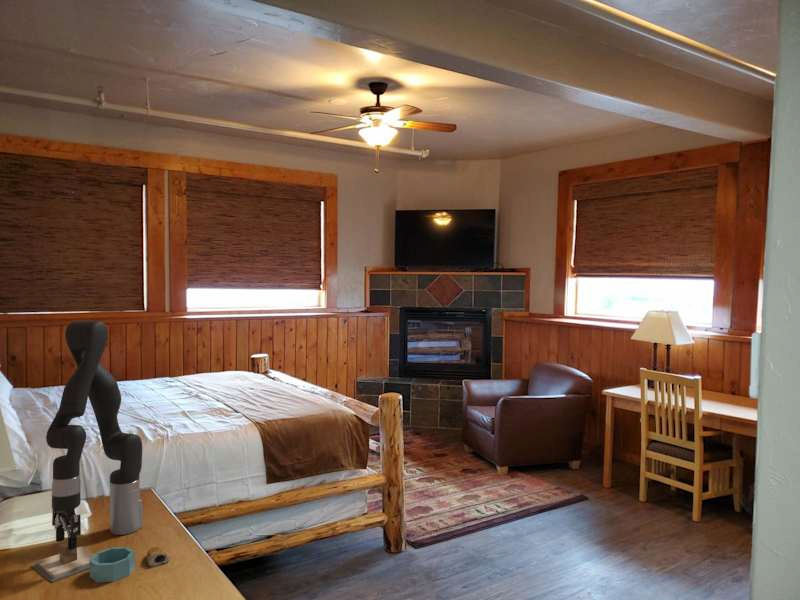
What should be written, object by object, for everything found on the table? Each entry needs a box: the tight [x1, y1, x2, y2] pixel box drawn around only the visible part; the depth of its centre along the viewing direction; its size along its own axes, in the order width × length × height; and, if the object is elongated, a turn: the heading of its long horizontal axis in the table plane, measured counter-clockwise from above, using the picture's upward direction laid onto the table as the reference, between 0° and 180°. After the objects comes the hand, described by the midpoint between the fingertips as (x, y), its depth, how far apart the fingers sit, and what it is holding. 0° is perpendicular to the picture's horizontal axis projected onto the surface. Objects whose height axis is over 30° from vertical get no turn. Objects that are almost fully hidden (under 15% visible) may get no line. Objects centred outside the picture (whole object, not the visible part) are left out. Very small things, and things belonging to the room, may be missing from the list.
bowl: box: [89, 546, 136, 583], centre depth 173 cm, size 11×11×5 cm
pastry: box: [145, 546, 172, 567], centre depth 181 cm, size 9×7×4 cm
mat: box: [30, 550, 91, 584], centre depth 177 cm, size 15×15×1 cm
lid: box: [35, 541, 95, 579], centre depth 177 cm, size 13×13×6 cm
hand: (66, 544), depth 177 cm, fingers open, 8 cm apart
